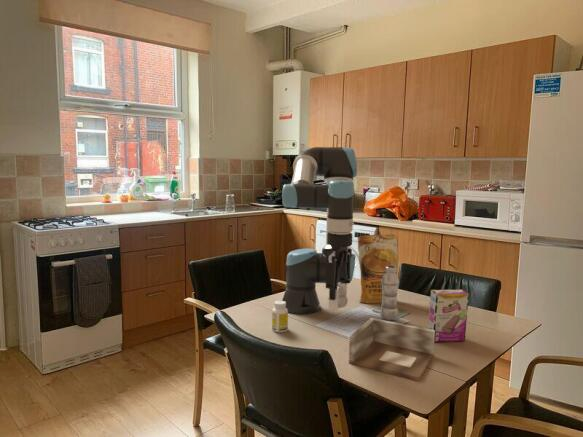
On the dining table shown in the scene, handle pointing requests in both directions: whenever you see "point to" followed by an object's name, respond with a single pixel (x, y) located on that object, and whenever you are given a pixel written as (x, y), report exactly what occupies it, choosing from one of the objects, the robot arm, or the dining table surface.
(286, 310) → the supplement bottle
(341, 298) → the white lumpy figure
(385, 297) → the plastic bottle
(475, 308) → the dining table surface
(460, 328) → the candy bar box
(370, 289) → the pancake mix bag
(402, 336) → the arena
